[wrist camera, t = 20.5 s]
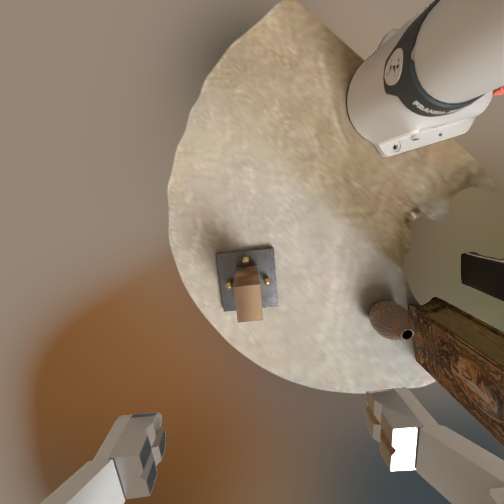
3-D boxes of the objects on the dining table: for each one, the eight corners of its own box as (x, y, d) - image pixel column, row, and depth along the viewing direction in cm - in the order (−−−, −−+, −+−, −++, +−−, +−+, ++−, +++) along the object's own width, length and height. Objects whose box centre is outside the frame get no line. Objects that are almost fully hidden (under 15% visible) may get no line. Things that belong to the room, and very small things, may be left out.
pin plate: (273, 247, 46) (275, 251, 43) (277, 303, 49) (279, 310, 46) (216, 253, 46) (214, 257, 43) (224, 309, 49) (222, 316, 46)
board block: (256, 265, 46) (260, 284, 36) (259, 294, 47) (263, 319, 37) (236, 267, 46) (233, 286, 36) (239, 295, 47) (237, 322, 37)
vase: (367, 294, 49) (393, 315, 40) (399, 297, 49) (431, 318, 41) (360, 324, 50) (384, 351, 42) (391, 326, 51) (421, 353, 42)
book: (441, 359, 53) (606, 497, 29) (417, 365, 53) (561, 508, 29) (432, 294, 49) (615, 391, 25) (406, 302, 49) (562, 405, 25)
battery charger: (478, 280, 49) (547, 305, 38) (460, 284, 49) (523, 310, 38) (478, 248, 47) (550, 264, 36) (459, 252, 47) (525, 270, 36)
